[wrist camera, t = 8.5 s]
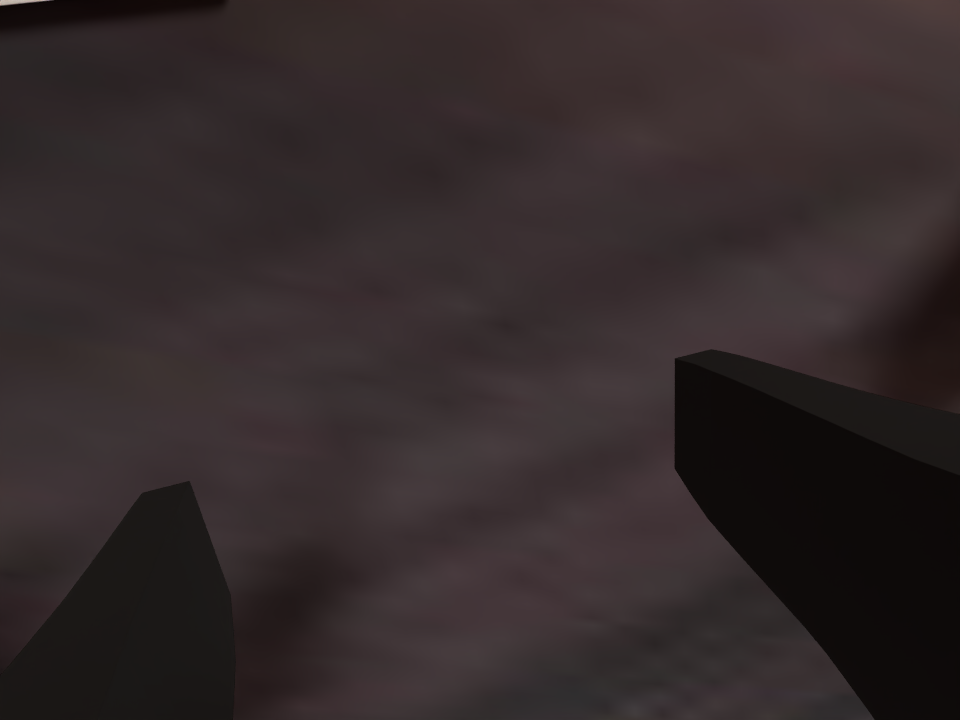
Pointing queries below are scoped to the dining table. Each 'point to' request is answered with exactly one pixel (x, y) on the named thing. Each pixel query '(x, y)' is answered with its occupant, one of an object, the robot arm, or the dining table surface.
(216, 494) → the dining table surface
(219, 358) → the dining table surface
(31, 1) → the peg holder
